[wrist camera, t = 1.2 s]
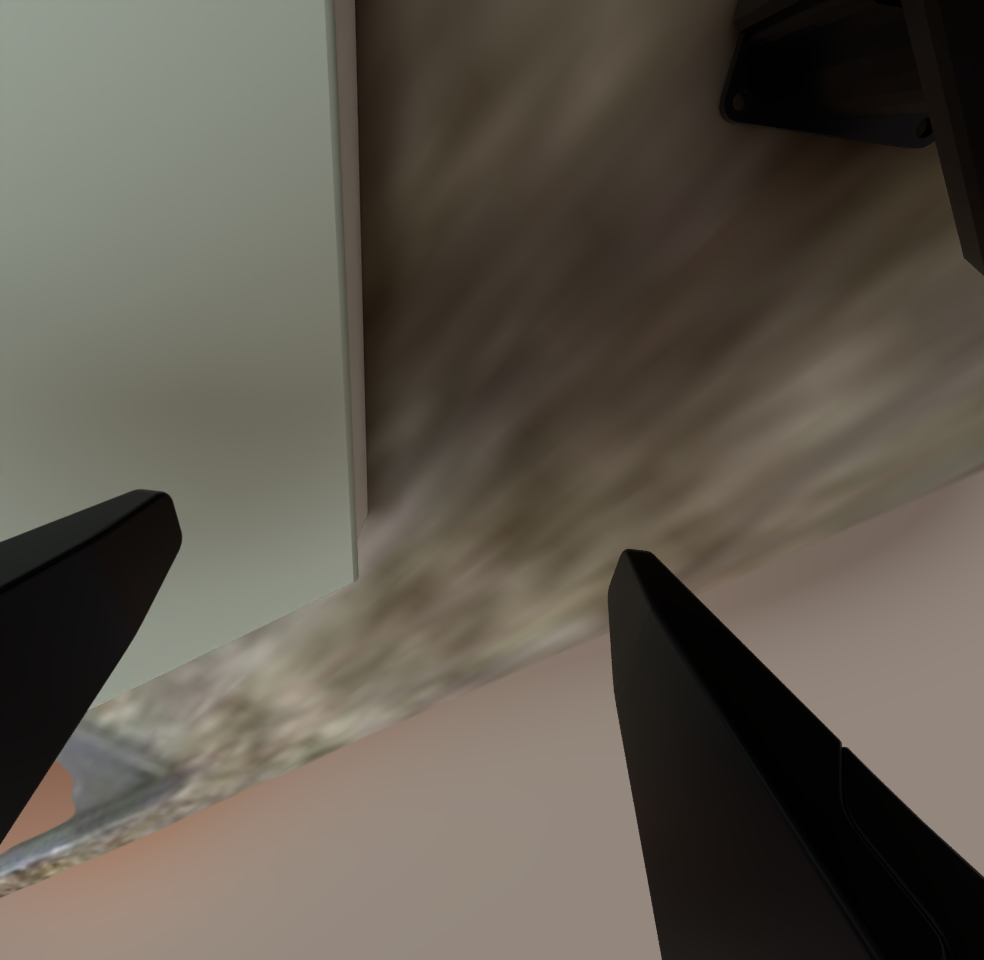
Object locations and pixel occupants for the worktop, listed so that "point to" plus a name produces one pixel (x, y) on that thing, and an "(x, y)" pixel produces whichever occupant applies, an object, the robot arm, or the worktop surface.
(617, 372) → the worktop surface
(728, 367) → the worktop surface
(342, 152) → the cable duct
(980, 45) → the robot arm
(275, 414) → the duct cover
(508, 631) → the worktop surface
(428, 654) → the worktop surface
